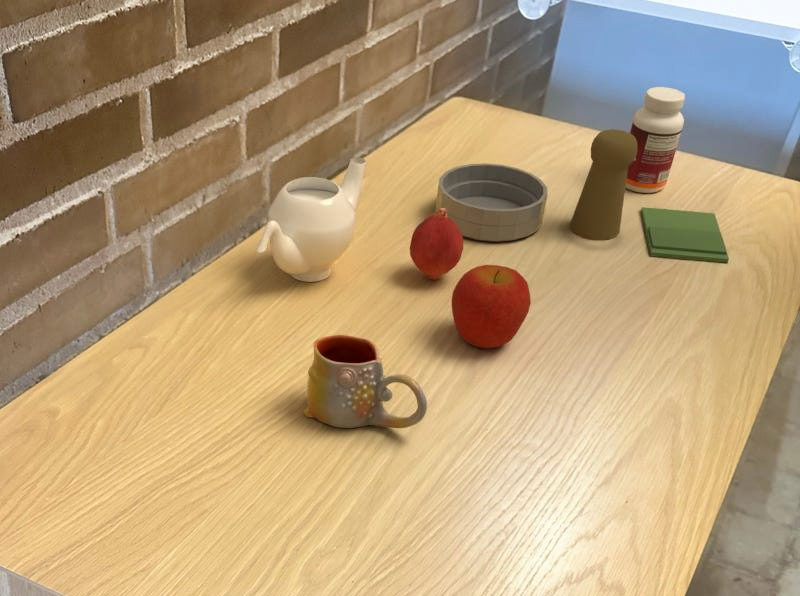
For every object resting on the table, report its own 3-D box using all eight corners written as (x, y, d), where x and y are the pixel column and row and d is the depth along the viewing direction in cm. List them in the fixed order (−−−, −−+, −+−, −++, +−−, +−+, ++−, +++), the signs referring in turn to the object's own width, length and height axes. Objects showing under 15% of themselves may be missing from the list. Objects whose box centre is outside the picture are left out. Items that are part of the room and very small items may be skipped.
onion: (397, 281, 109) (404, 209, 103) (422, 260, 112) (430, 190, 106) (442, 296, 106) (452, 225, 100) (467, 275, 110) (478, 205, 104)
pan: (539, 200, 123) (545, 168, 120) (541, 248, 115) (548, 215, 112) (437, 191, 124) (441, 159, 121) (432, 238, 115) (436, 205, 112)
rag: (713, 217, 122) (715, 210, 121) (727, 263, 114) (730, 256, 113) (640, 210, 122) (642, 204, 121) (650, 256, 114) (652, 249, 114)
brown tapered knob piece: (616, 243, 116) (641, 147, 108) (566, 234, 117) (587, 139, 109) (622, 222, 120) (647, 127, 112) (573, 213, 121) (595, 119, 113)
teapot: (222, 295, 105) (218, 210, 98) (323, 227, 117) (326, 146, 110) (295, 322, 102) (296, 236, 95) (392, 250, 113) (399, 168, 106)
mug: (291, 414, 91) (292, 351, 86) (333, 381, 95) (336, 319, 90) (399, 462, 87) (406, 399, 82) (438, 426, 91) (447, 364, 86)
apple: (498, 315, 104) (511, 244, 98) (536, 353, 100) (551, 281, 94) (434, 328, 102) (443, 257, 96) (469, 367, 97) (481, 295, 92)
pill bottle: (614, 172, 130) (637, 82, 121) (661, 175, 129) (687, 85, 121) (620, 192, 125) (643, 101, 117) (668, 196, 125) (695, 104, 117)
